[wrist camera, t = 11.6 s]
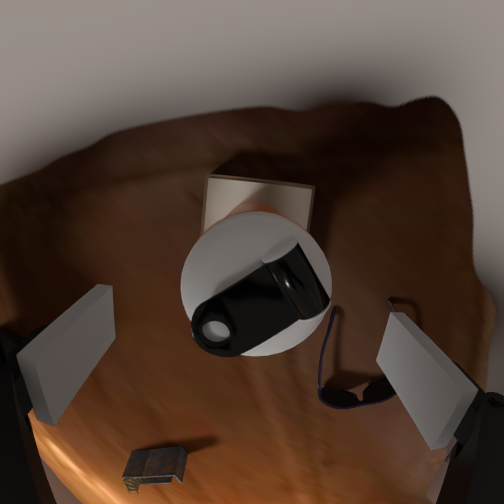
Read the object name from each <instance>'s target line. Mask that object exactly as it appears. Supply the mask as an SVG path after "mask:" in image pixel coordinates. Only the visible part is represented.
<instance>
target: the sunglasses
mask: <svg viewBox="0 0 504 504" xmlns="http://www.w3.org/2000/svg"><path fill="white" fill-rule="evenodd" d="M388 303H389V304H390V306H391V307H392V309H393V310H394V312H396V313H398V312H397V311H396V309H395V307H394V306H393V304H392V303H391V301H390V299H388ZM335 311H336V307H334V308H333V310H332V312H331V316H330V321H329V325H328V330H327V333H326V336H325V339H324V343H323V346H322V350H321V355H320V361H319V372H318V396H319V399H320V400H321V402H323V403H324V404H325V405H327V406H329V407H332V408H335V409H350V408H355V407H359V406H364V405H371V404H376V403H381V402H384V401H386V400H389V399H390V398H392V397H393V396H395V395H396V394H397V393H396V391H395V390H394V388H393V387H392V385H391V383H390V382H389V380H388V379H387V377H386V378H383V379H381V380H379V381H377V383H373V384H371V385H369V386H368V387H367V388H366V389H365V390H364V391H363V400H362V401H359V400H358V398H357V396H356V394H354V393H352V392H349V391H345V390H340V391H334V390H330V388H321V373H322V362H323V355H324V351H325V348H326V344H327V340H328V337H329V334H330V331H331V328H332V324H333V320H334V316H335Z"/></svg>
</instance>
